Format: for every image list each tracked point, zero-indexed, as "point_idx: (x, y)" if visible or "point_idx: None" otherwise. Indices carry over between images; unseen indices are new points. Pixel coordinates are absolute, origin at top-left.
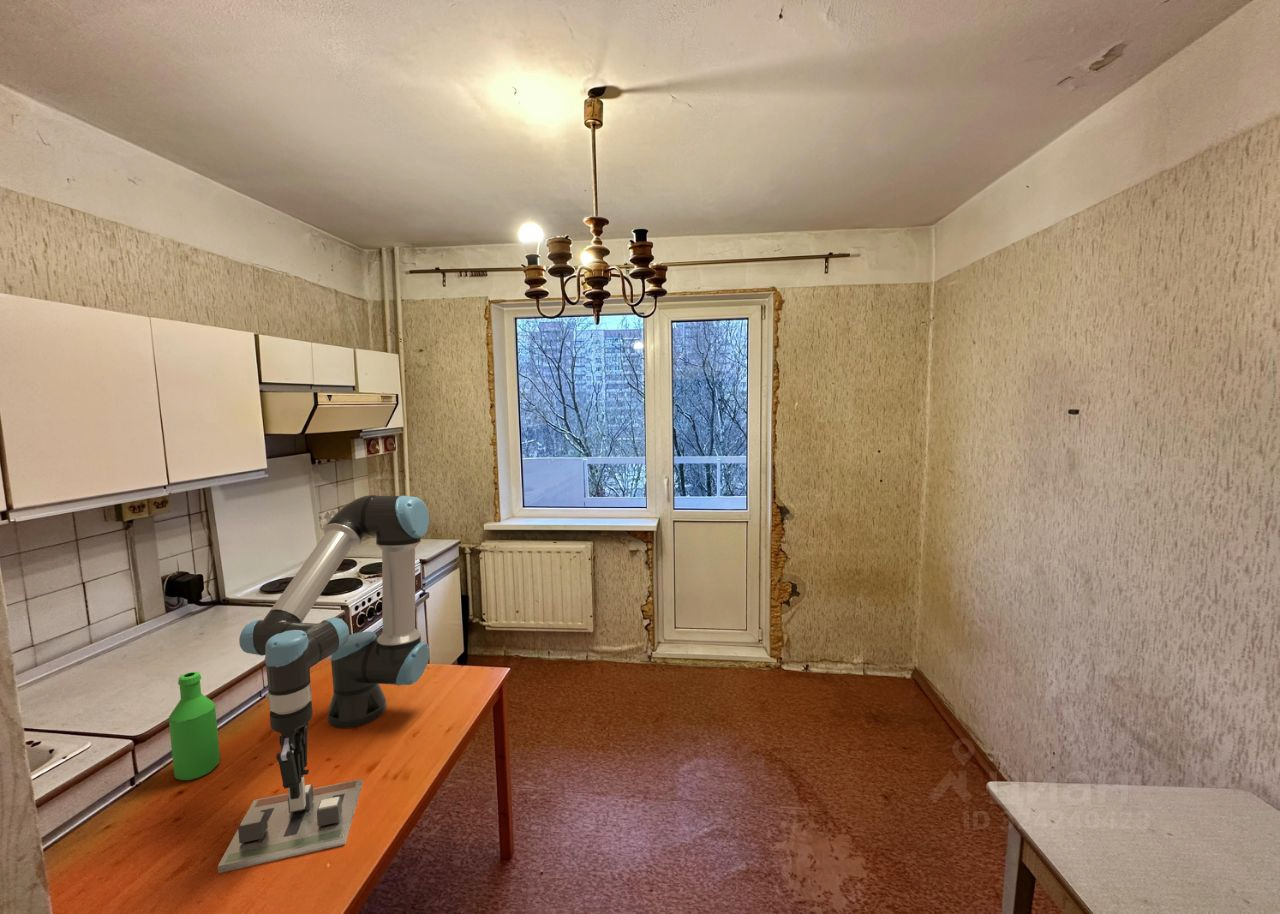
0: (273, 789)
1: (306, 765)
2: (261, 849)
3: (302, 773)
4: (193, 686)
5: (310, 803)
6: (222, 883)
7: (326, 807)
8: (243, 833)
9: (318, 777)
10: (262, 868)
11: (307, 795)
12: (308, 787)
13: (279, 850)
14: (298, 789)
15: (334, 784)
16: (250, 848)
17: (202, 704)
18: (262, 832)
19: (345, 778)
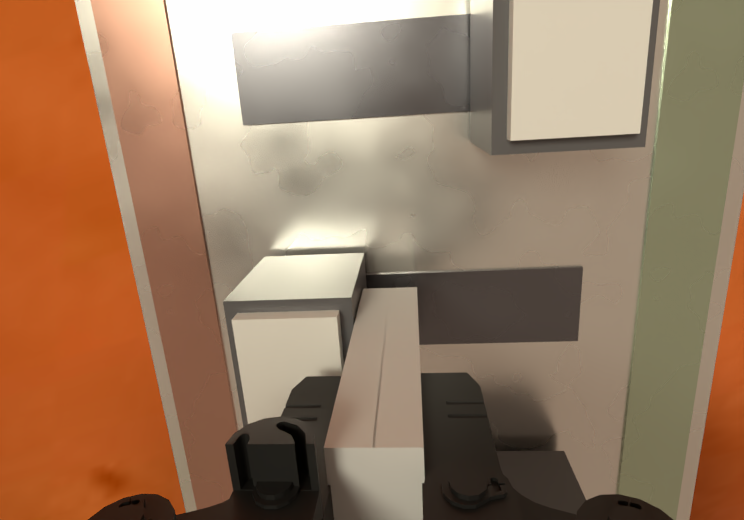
0: (95, 496)
1: (144, 507)
2: (650, 426)
3: (321, 506)
4: None
5: (338, 261)
6: (740, 509)
7: (645, 50)
8: None
9: (4, 296)
10: (723, 368)
11: (354, 304)
12: (275, 326)
13: (703, 325)
14: (459, 425)
15: (110, 154)
16: (606, 480)
17: None
18: (565, 475)
19: (17, 109)
